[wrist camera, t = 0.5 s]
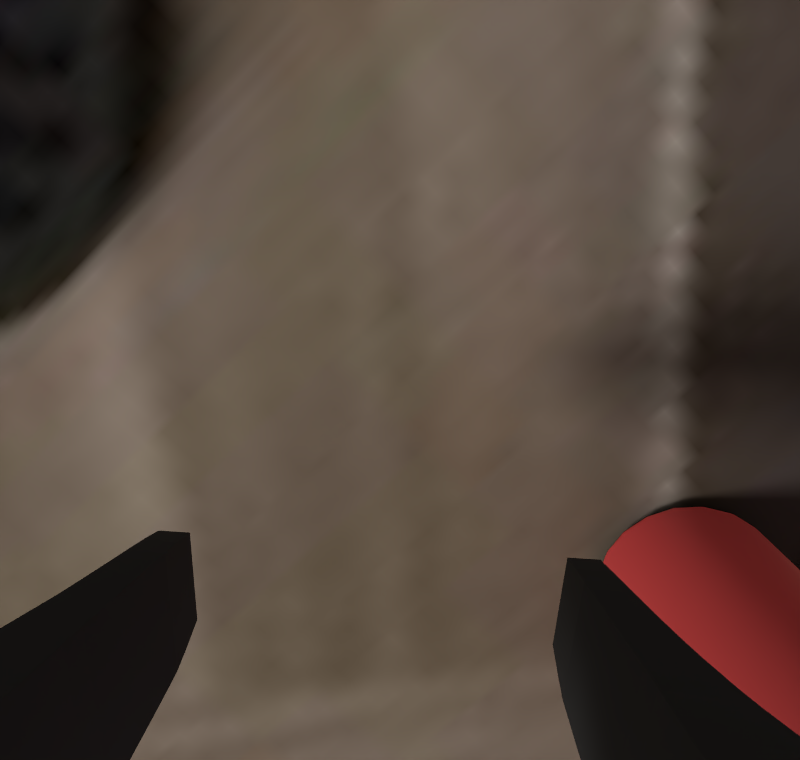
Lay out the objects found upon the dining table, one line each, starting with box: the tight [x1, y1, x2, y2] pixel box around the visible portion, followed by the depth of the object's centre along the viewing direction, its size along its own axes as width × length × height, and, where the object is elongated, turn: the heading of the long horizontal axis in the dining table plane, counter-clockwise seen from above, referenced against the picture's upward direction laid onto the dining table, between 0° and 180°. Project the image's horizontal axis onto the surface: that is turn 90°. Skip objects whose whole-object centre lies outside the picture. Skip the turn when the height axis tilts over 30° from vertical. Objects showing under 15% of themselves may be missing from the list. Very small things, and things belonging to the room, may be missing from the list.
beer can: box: [603, 507, 800, 736], centre depth 16 cm, size 7×7×12 cm
